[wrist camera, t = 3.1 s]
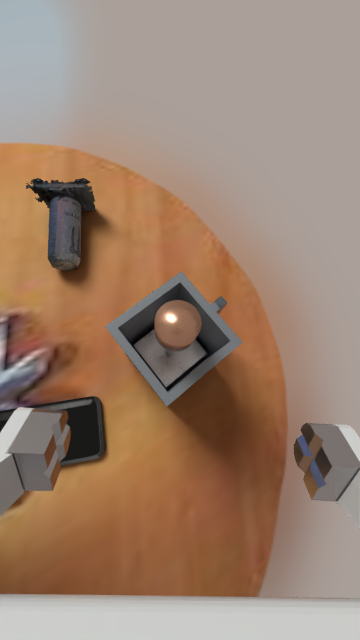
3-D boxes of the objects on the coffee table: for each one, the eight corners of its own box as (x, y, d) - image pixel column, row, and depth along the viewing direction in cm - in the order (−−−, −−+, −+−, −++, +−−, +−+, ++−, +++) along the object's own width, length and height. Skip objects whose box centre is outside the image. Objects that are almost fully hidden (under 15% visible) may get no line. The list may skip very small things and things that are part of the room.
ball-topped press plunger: (133, 346, 34) (118, 315, 21) (173, 315, 36) (183, 268, 22) (165, 387, 33) (171, 382, 20) (205, 354, 35) (236, 329, 21)
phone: (-20, 414, 35) (99, 395, 37) (-15, 413, 36) (101, 395, 38) (-22, 482, 33) (104, 458, 35) (-16, 479, 34) (106, 456, 36)
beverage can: (53, 210, 46) (53, 278, 44) (22, 178, 39) (20, 258, 36) (105, 202, 45) (108, 270, 43) (85, 168, 38) (87, 248, 35)
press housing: (124, 351, 40) (105, 326, 25) (185, 304, 42) (200, 257, 28) (163, 402, 38) (166, 406, 24) (224, 350, 41) (261, 326, 26)
